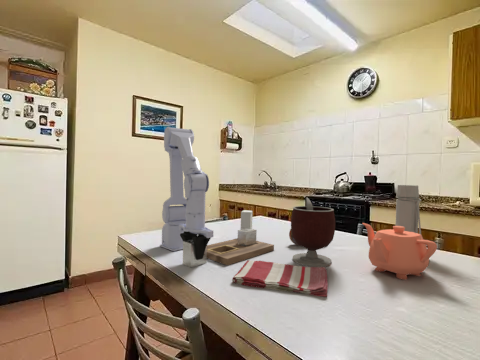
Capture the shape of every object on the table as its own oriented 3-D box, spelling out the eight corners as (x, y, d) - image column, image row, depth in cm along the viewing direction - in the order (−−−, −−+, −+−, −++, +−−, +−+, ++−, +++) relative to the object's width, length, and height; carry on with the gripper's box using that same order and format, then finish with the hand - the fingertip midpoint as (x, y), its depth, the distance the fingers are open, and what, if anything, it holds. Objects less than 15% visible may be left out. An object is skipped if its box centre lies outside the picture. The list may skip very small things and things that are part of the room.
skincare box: (249, 240, 112) (250, 212, 111) (240, 239, 112) (240, 211, 112) (252, 237, 118) (252, 210, 117) (242, 236, 118) (243, 209, 118)
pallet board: (194, 253, 91) (194, 247, 91) (242, 242, 109) (242, 236, 109) (227, 265, 80) (227, 258, 80) (273, 250, 98) (274, 244, 98)
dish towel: (328, 300, 60) (328, 288, 60) (230, 285, 67) (230, 275, 67) (326, 274, 76) (326, 265, 76) (247, 264, 83) (247, 256, 83)
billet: (182, 264, 80) (183, 241, 80) (198, 259, 85) (198, 238, 85) (190, 267, 78) (191, 243, 78) (206, 262, 82) (206, 240, 82)
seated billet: (237, 249, 98) (237, 230, 98) (248, 246, 102) (248, 228, 102) (245, 251, 95) (245, 232, 95) (256, 248, 100) (256, 229, 99)
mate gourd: (340, 268, 80) (342, 202, 79) (294, 267, 80) (296, 201, 79) (324, 253, 95) (326, 197, 95) (286, 252, 95) (287, 196, 95)
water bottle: (389, 250, 101) (391, 184, 101) (404, 249, 103) (406, 184, 103) (411, 257, 92) (413, 185, 92) (427, 255, 95) (430, 186, 94)
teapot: (372, 278, 72) (374, 229, 72) (360, 260, 88) (361, 219, 88) (441, 286, 68) (443, 233, 68) (415, 265, 84) (416, 223, 84)
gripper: (171, 211, 83) (170, 254, 83) (200, 217, 73) (199, 266, 73) (189, 209, 88) (188, 250, 88) (219, 214, 78) (218, 260, 78)
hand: (194, 257), depth 81 cm, fingers closed on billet, 4 cm apart
